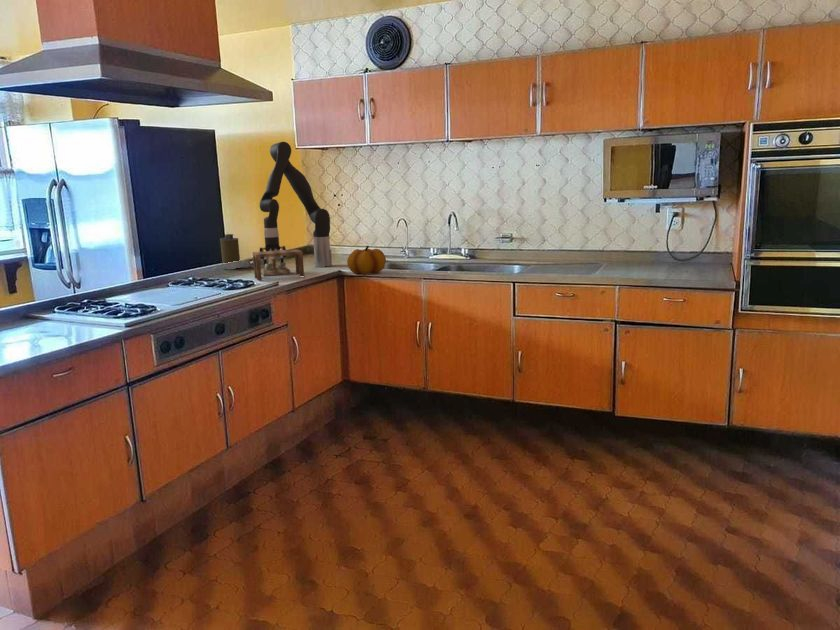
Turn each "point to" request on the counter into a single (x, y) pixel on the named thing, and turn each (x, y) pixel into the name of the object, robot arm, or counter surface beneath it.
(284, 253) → the wooden rack
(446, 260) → the counter surface
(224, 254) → the canister
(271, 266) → the tray
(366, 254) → the decorative pumpkin
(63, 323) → the counter surface
